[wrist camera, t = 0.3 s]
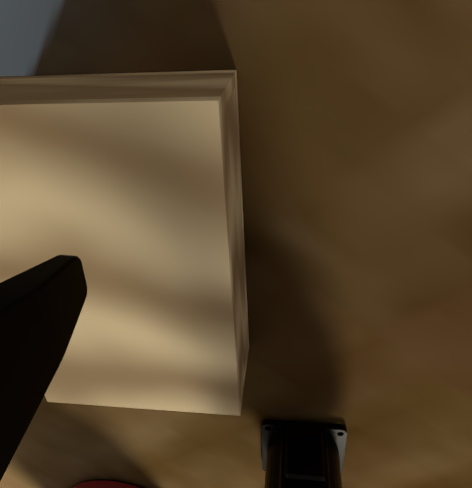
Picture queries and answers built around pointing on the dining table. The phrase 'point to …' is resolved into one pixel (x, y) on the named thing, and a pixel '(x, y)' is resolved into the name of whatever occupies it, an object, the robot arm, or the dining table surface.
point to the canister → (104, 484)
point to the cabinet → (134, 230)
